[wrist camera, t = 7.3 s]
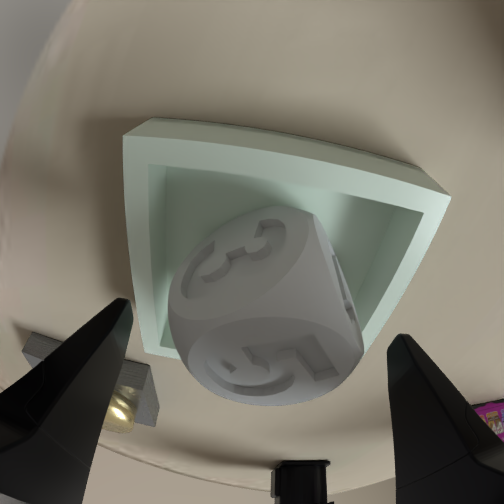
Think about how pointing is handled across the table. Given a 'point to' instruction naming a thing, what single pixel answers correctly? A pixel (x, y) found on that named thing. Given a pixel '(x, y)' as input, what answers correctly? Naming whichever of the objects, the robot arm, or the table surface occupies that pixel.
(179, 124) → the tray
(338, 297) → the die
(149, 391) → the call bell
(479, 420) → the robot arm
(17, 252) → the table surface
